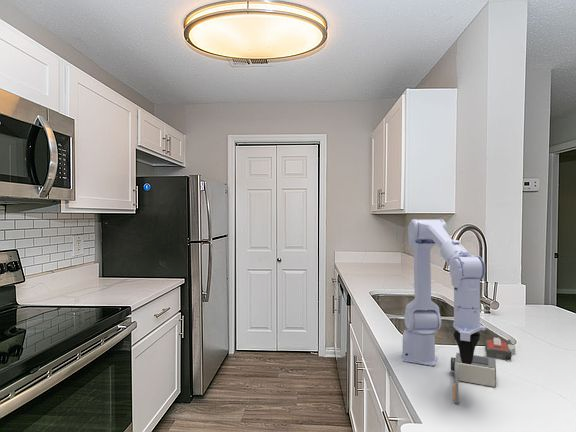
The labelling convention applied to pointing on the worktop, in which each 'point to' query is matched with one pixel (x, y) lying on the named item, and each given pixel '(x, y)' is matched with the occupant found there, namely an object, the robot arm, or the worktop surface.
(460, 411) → the worktop surface
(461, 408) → the worktop surface
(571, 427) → the worktop surface
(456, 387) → the side door
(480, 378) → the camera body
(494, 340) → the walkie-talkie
